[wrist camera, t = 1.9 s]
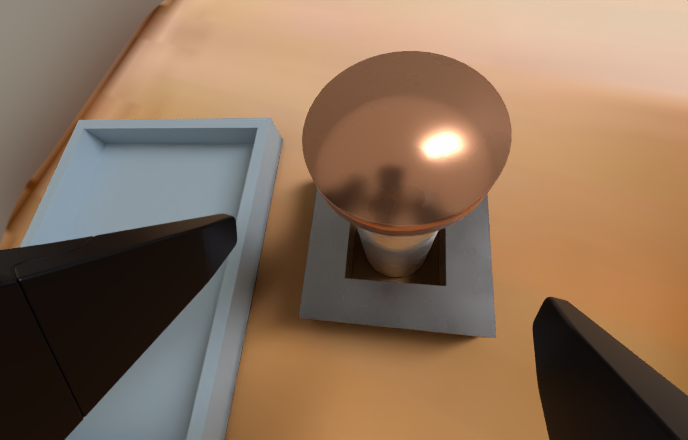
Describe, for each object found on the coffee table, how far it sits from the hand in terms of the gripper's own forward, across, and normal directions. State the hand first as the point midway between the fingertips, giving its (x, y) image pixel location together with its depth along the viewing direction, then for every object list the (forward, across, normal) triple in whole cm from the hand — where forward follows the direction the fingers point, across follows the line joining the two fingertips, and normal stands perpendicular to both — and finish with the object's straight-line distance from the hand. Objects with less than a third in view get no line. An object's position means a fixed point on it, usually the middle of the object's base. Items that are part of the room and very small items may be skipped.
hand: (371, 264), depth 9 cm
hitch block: (+10, 0, +5) cm, 11 cm away
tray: (+6, +16, +9) cm, 19 cm away
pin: (+10, 0, +5) cm, 11 cm away
